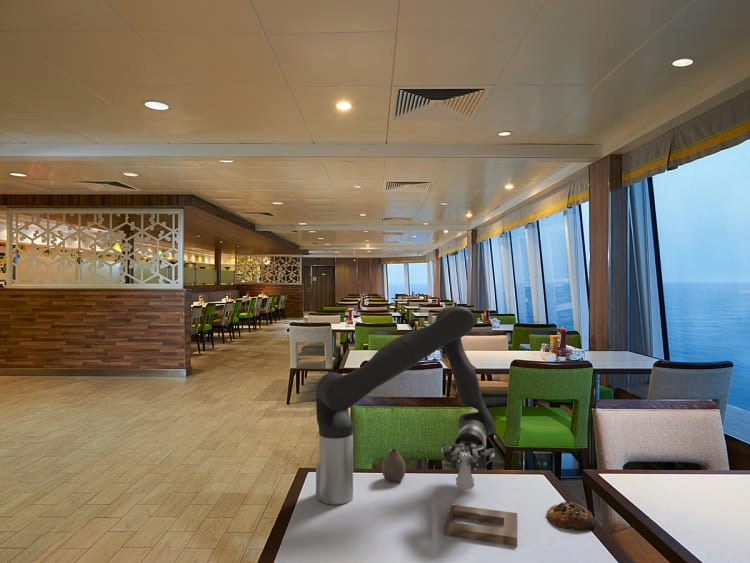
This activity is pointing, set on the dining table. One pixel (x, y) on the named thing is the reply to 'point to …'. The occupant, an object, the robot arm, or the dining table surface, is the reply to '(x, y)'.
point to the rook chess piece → (465, 472)
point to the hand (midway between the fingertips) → (463, 465)
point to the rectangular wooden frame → (480, 531)
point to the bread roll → (571, 516)
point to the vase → (393, 467)
